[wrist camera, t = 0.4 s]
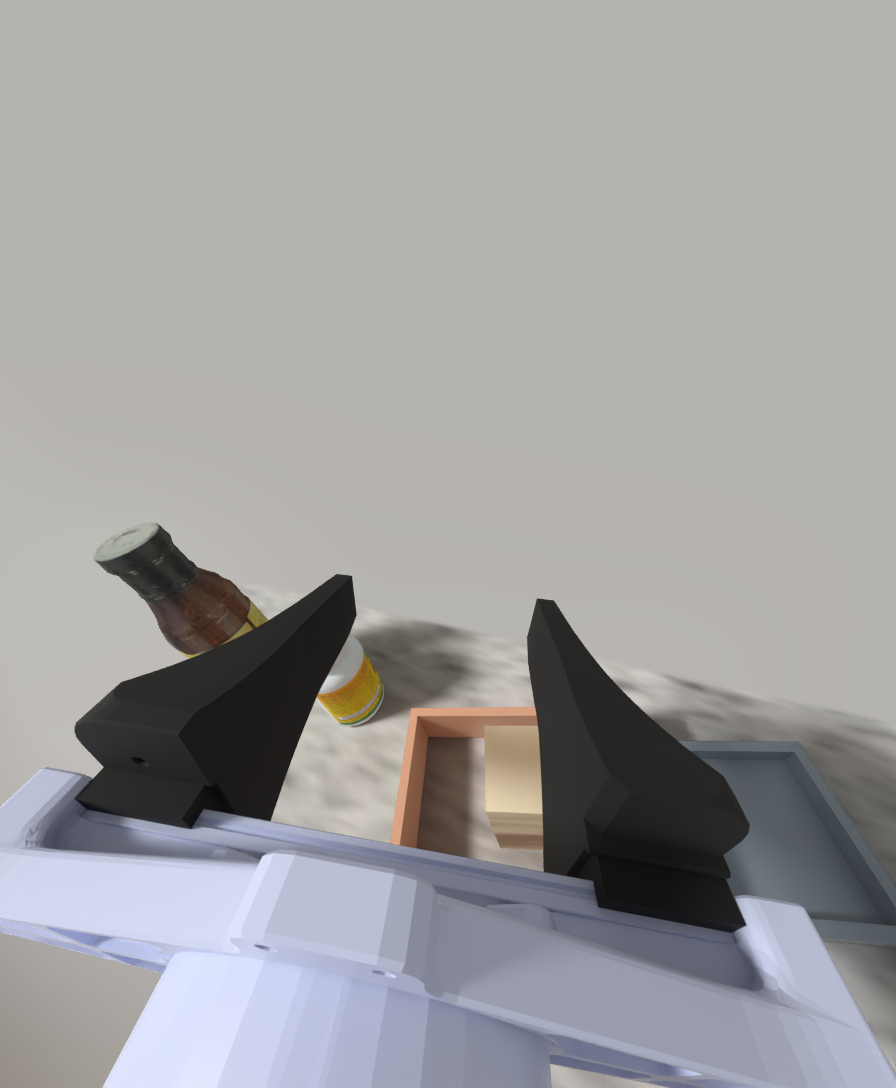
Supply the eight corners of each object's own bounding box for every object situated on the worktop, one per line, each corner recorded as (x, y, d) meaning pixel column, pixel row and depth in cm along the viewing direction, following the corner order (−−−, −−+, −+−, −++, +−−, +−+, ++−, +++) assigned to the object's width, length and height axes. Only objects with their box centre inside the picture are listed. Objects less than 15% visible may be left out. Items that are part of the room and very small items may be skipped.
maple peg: (563, 851, 21) (570, 815, 16) (500, 847, 22) (485, 811, 16) (552, 778, 24) (555, 725, 19) (497, 776, 25) (484, 725, 19)
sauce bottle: (266, 654, 38) (134, 511, 26) (314, 653, 37) (200, 503, 25) (231, 712, 33) (48, 570, 21) (286, 714, 32) (126, 564, 20)
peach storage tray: (698, 943, 18) (723, 941, 15) (400, 912, 20) (380, 907, 18) (629, 730, 26) (638, 706, 23) (422, 729, 29) (411, 708, 26)
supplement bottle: (319, 712, 31) (268, 656, 26) (357, 665, 35) (319, 606, 29) (360, 740, 29) (313, 684, 23) (397, 686, 32) (364, 625, 26)
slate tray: (906, 949, 16) (937, 948, 15) (712, 930, 18) (725, 928, 17) (784, 753, 23) (798, 741, 22) (649, 751, 24) (655, 740, 23)
